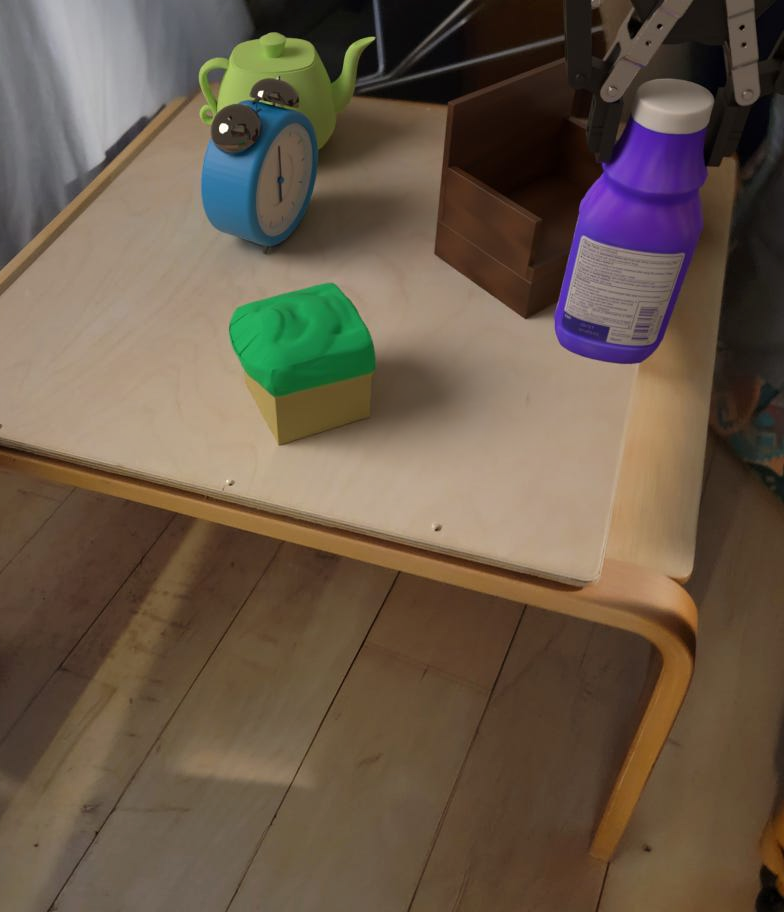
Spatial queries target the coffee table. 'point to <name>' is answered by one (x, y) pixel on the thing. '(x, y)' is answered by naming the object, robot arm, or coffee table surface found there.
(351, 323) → the cake
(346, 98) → the teapot
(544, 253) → the box
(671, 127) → the bottle
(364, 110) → the coffee table surface
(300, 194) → the alarm clock
